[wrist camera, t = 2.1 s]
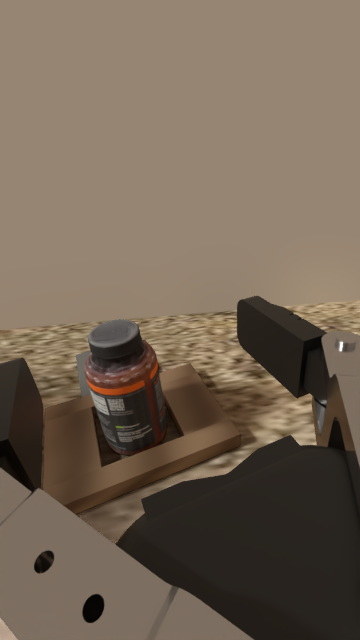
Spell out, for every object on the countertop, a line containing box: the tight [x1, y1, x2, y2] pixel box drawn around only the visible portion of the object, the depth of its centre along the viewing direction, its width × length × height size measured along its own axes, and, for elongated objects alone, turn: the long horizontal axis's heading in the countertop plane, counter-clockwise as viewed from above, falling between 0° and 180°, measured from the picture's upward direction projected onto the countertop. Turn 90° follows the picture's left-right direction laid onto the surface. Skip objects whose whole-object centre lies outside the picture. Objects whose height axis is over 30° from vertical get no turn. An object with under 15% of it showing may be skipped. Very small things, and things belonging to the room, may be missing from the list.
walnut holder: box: [43, 364, 241, 514], centre depth 28 cm, size 16×11×2 cm
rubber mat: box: [76, 351, 91, 397], centre depth 38 cm, size 9×9×1 cm
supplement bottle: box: [84, 320, 167, 456], centre depth 26 cm, size 6×6×11 cm
